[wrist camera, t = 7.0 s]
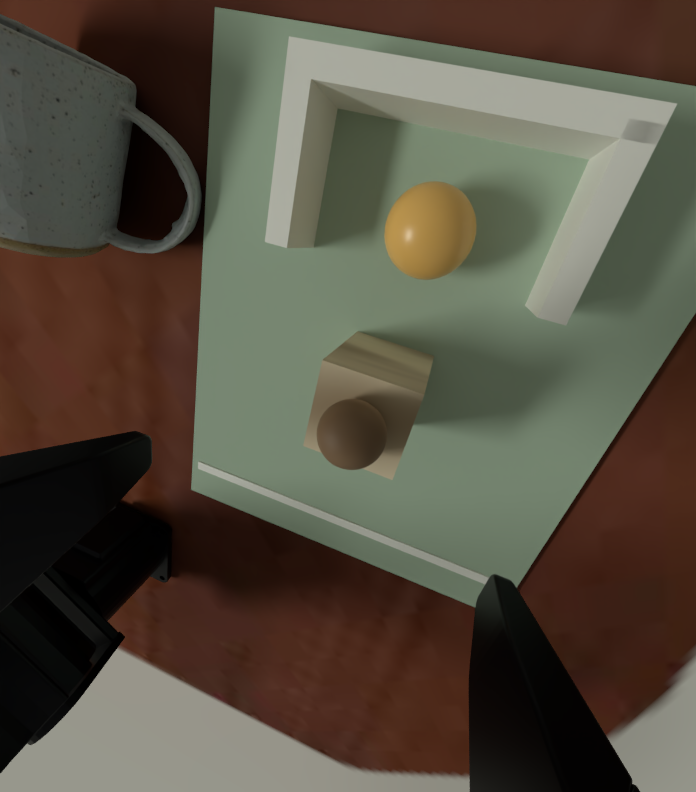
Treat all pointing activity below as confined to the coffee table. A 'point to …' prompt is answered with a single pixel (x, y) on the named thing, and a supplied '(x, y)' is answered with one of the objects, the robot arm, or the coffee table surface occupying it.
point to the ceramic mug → (71, 150)
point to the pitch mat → (426, 317)
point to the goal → (472, 115)
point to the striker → (367, 403)
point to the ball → (430, 230)
